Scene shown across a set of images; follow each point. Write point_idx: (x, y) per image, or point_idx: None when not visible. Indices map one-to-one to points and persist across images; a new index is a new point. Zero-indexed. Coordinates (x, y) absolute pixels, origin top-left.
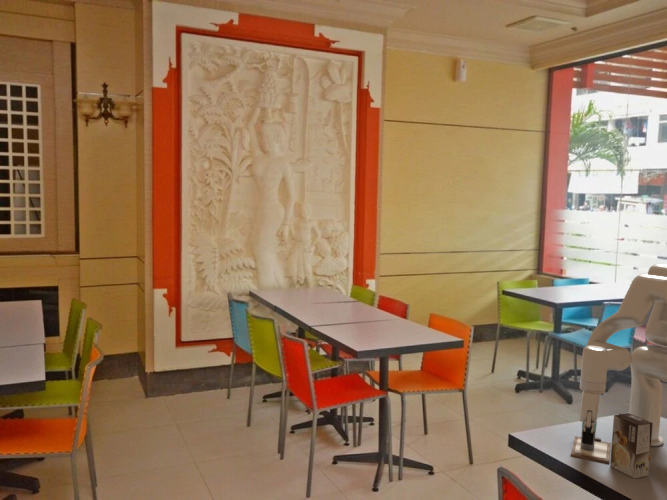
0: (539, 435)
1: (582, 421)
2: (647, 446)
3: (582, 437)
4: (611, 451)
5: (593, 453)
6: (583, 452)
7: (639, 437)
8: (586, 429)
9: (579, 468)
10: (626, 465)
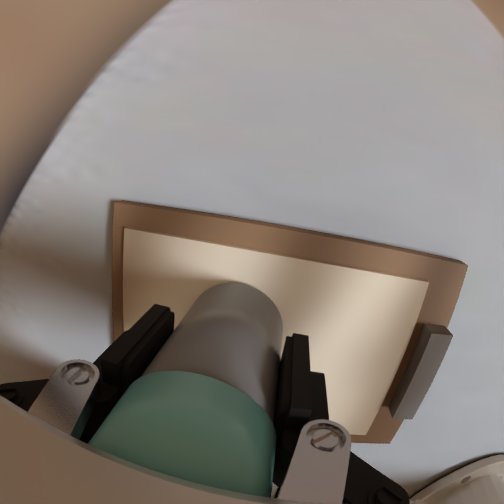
0: (417, 19)
1: (144, 437)
2: None
3: (136, 324)
4: None
5: None
6: (147, 288)
7: None
8: (24, 389)
9: (16, 238)
10: None
